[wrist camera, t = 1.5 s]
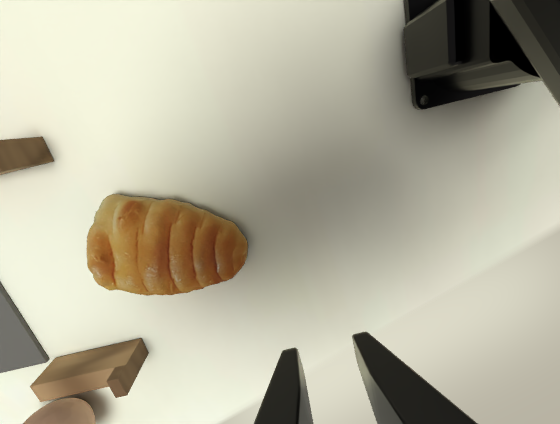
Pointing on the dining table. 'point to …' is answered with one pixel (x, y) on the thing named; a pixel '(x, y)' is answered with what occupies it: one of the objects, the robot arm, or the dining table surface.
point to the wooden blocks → (88, 364)
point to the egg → (63, 413)
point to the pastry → (161, 246)
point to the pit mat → (16, 338)
